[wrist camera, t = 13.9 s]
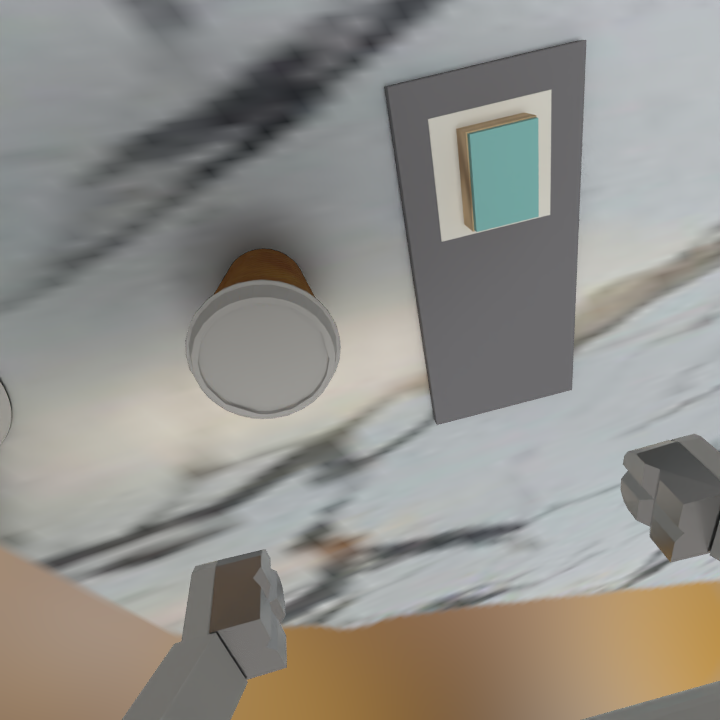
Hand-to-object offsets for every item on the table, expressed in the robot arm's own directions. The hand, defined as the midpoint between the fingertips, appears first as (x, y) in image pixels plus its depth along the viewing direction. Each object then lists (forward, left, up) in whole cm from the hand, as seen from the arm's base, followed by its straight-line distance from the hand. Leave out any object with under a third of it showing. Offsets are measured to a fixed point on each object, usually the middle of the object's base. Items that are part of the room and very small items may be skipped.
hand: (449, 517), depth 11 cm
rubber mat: (+13, -9, -31) cm, 35 cm away
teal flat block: (+13, -1, -30) cm, 33 cm away
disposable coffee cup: (-6, -6, -31) cm, 32 cm away
